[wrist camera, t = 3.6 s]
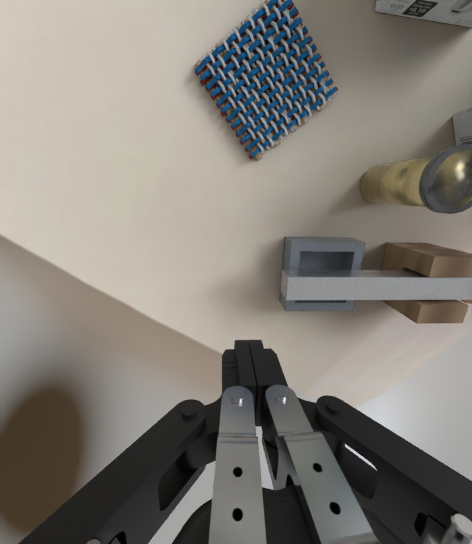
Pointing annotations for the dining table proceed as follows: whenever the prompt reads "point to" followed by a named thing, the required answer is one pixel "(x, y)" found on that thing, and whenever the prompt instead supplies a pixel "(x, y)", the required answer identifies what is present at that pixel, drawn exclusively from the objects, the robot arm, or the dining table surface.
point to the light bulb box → (430, 10)
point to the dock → (321, 266)
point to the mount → (432, 265)
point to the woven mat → (266, 76)
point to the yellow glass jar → (424, 181)
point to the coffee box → (463, 127)
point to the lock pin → (372, 285)
